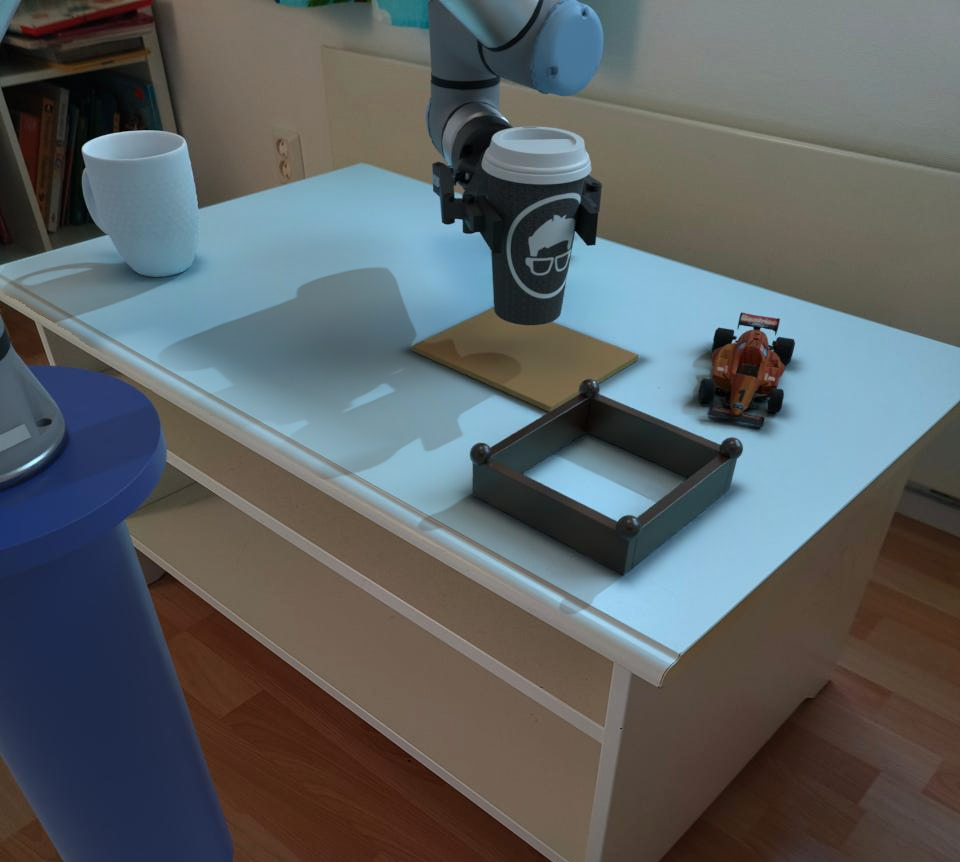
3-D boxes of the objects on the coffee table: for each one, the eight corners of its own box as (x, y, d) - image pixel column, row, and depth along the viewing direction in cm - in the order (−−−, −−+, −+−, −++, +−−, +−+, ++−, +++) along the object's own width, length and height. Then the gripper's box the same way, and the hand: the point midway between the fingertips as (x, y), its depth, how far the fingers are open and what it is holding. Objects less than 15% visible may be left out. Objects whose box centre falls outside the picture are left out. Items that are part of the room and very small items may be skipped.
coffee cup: (583, 296, 89) (600, 129, 78) (568, 338, 82) (585, 161, 72) (490, 285, 90) (495, 119, 80) (468, 325, 83) (470, 150, 73)
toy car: (690, 417, 81) (699, 373, 78) (714, 340, 92) (723, 299, 89) (777, 432, 79) (790, 388, 76) (791, 352, 90) (802, 310, 87)
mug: (69, 267, 104) (31, 145, 95) (135, 237, 111) (105, 120, 102) (168, 292, 100) (137, 165, 90) (230, 258, 107) (207, 138, 97)
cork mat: (411, 351, 90) (411, 345, 89) (502, 307, 97) (502, 302, 97) (550, 412, 81) (550, 406, 81) (638, 360, 89) (638, 354, 88)
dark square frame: (465, 495, 72) (464, 444, 68) (583, 421, 80) (588, 372, 77) (625, 580, 64) (633, 528, 61) (737, 488, 73) (749, 438, 69)
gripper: (577, 186, 97) (652, 267, 81) (389, 199, 93) (429, 287, 77) (583, 108, 91) (664, 178, 76) (384, 119, 88) (425, 195, 72)
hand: (545, 233), depth 76 cm, fingers closed on coffee cup, 8 cm apart
